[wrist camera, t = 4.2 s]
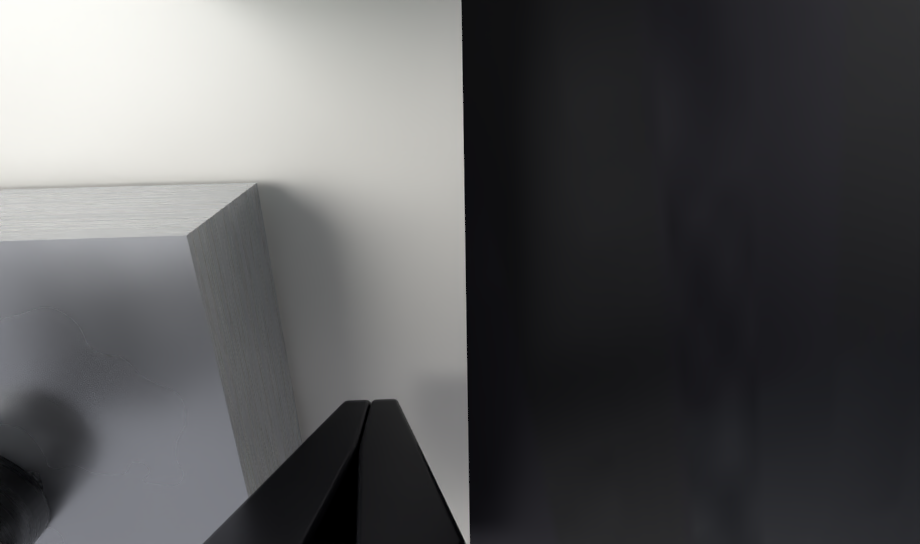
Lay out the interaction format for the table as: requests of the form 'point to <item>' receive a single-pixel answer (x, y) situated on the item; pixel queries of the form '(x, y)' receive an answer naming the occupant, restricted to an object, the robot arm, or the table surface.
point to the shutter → (137, 363)
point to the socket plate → (282, 170)
